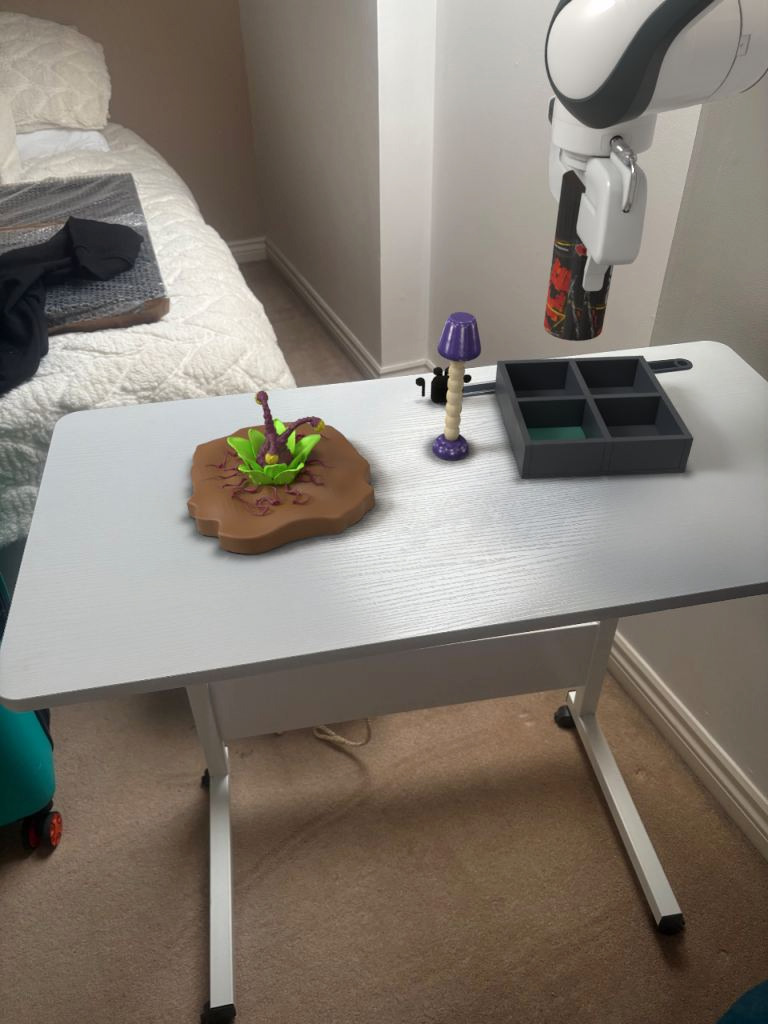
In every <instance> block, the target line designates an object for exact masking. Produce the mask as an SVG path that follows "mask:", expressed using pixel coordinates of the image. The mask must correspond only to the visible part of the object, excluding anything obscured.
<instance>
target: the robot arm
mask: <svg viewBox="0 0 768 1024" xmlns="http://www.w3.org/2000/svg"><path fill="white" fill-rule="evenodd" d="M544 42H545V43H544V66H545V72H546V75H547V79H548V81H549V84H550V87H551V89H552V92H553V93H554V95H551V96H550V97H549V99H548V102H547V103H548V104H547V112H546V113H547V114H546V117H547V120H548V122H549V124H550V126H551V128H550V135H549V138H550V139H549V157H548V158H549V159H548V183H549V184H548V186H549V191H550V194H551V195H552V196H553V198H554V200H555V201H556V203H557V204H558V205H559V200H560V193H561V185H562V177H563V174H564V173H565V172H567V171H570V170H573V171H574V172H575V173H576V175H577V176H578V177H579V179H580V180H581V182H582V183H583V184H584V186H585V187H586V191H585V193H582V196H581V203H580V209H579V215H578V221H577V234H578V236H579V237H580V239H581V241H582V242H583V244H584V245H585V247H586V248H587V256H588V259H587V262H586V266H585V267H582V273H581V279H580V282H581V284H582V286H583V288H584V290H586V291H599V290H600V289H601V288H602V286H603V280H604V275H605V273H606V271H607V269H608V267H609V265H614V266H625V265H632V264H633V263H634V262H635V261H636V259H637V258H638V256H639V254H640V250H641V244H642V238H643V232H644V226H645V219H646V218H645V217H646V210H647V202H648V201H647V200H648V178H647V175H646V173H645V172H644V170H643V168H641V166H639V164H638V163H637V162H638V155H639V154H641V153H644V152H647V151H648V150H650V148H651V147H652V146H653V142H654V141H653V140H654V134H655V129H656V125H657V118H658V114H660V113H665V112H671V111H677V110H682V109H686V108H690V107H693V106H698V105H704V104H709V103H713V102H719V101H721V100H726V99H728V98H729V99H730V98H731V97H734V96H736V95H738V94H742V93H744V92H747V91H749V90H750V89H751V88H753V87H754V86H756V85H757V84H758V83H759V82H760V81H761V80H762V79H763V77H765V75H766V74H767V72H768V0H558V3H557V5H556V7H555V10H554V12H553V15H552V16H551V19H550V21H549V26H548V28H547V33H546V36H545V41H544Z"/></svg>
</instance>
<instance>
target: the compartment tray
mask: <svg viewBox="0 0 768 1024" xmlns="http://www.w3.org/2000/svg"><path fill="white" fill-rule="evenodd" d="M494 396H495V399H496V402H497V405H498V408H499V411H500V415H501V418H502V421H503V424H504V428H505V430H506V434H507V437H508V441H509V443H510V447H511V451H512V453H513V457H514V460H515V463H516V467H517V471H518V473H519V476H520V479H521V480H531V479H535V480H536V479H555V478H557V479H558V478H559V479H560V478H578V477H601V476H602V477H605V476H624V475H625V476H626V475H627V476H629V475H651V474H672V473H675V474H676V473H685V472H686V469H687V466H688V465H687V464H688V460H689V457H690V453H691V451H692V447H693V444H694V443H693V442H694V436H693V435H692V433H691V431H690V430H689V427H687V425H686V423H685V421H684V420H683V418H682V417H681V415H680V413H679V411H678V410H677V408H676V407H675V405H674V404H673V402H672V400H671V399H670V397H669V395H668V394H667V392H666V391H665V389H664V387H663V386H662V384H661V383H660V381H659V379H658V377H657V376H656V374H655V373H654V370H652V367H651V366H650V364H649V363H648V361H647V360H646V358H645V356H644V355H621V356H620V355H618V356H594V357H592V356H590V357H564V358H563V357H561V358H560V357H559V358H538V359H512V360H511V359H510V360H509V359H508V360H507V359H505V360H497V361H496V372H495V382H494Z"/></svg>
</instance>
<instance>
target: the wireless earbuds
mask: <svg viewBox="0 0 768 1024" xmlns="http://www.w3.org/2000/svg"><path fill="white" fill-rule="evenodd" d="M449 367H450V365H449V366H447V367H446V368H444V370H443V368H442V367H440V366H436V367H434V368H433V369H432V374H433V375H434V376H433V378H432V379H431V381H430V400H431V402H433V403H434V404H442V403H443V404H444V403H445V404H447V402H448V401H447V392H448V390H449V389H448V379H449V377H450V376H449ZM472 379H473V378H472V375H471V374H470V373H469V374H468V373H467V374H466V373H465V375H464V377H463V380H464V384H469V383H471V381H472ZM415 385H416V386H418V387H421V397H422V398H425V397H426V379H425V378H424V377H423V376H420V377H419V376H418V377H417V378H416V379H415ZM464 388H465V387H463V389H462V392H463V393H464Z"/></svg>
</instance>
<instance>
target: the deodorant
mask: <svg viewBox="0 0 768 1024" xmlns="http://www.w3.org/2000/svg"><path fill="white" fill-rule="evenodd" d="M585 191H586V187H585V186H584V184H583V183H582V182H581V180H580V179H579V177H578V176H577V175H576V173H575V172H574V171H573V170H570V171H567V172H565V173H564V174H563V177H562V185H561V193H560V200H559V204H558V210H557V218H556V224H555V225H556V226H555V234H554V241H553V247H552V256H551V264H550V271H549V272H550V273H549V278H548V279H549V281H548V288H547V295H546V304H545V311H544V319H543V329H544V331H545V332H546V333H548V334H549V335H551V336H552V337H554V338H558V339H559V340H560V339H561V340H565V341H570V342H571V341H572V342H585V341H590V340H593V339H596V338H598V337H599V336H600V335H601V334H602V332H603V327H604V323H605V322H604V321H605V316H606V310H607V306H608V299H609V293H610V290H611V289H610V288H611V282H612V276H613V271H614V266H615V265H609V267H608V269H607V271H606V273H605V275H604V280H603V286H602V288H601V289H600V290H599V291H586V290H584V288H583V286H582V284H581V282H580V279H581V273H582V267H585V266H586V262H587V259H588V256H587V248H586V247H585V245H584V244H583V242H582V241H581V239H580V237H579V236H578V234H577V221H578V215H579V209H580V203H581V196H582V193H585Z"/></svg>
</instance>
